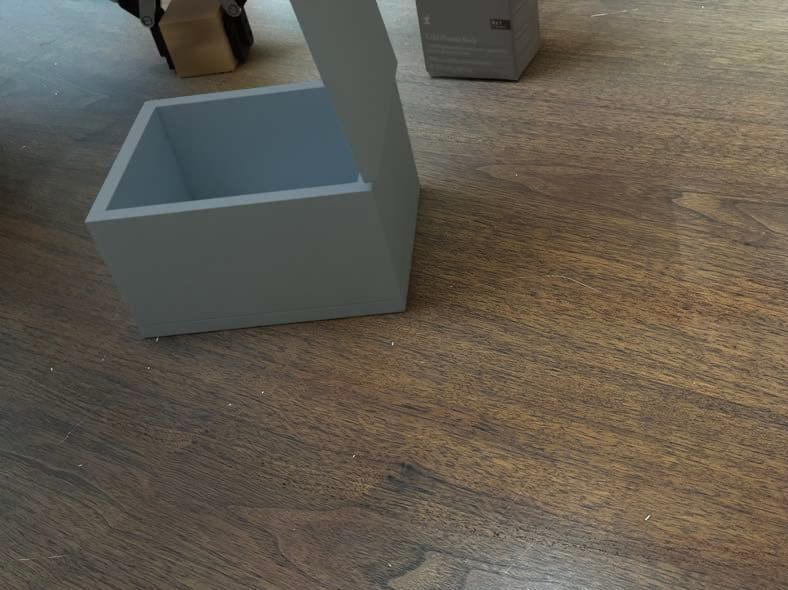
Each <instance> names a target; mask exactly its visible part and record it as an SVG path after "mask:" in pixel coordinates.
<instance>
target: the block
mask: <svg viewBox="0 0 788 590" xmlns="http://www.w3.org/2000/svg"><path fill="white" fill-rule="evenodd" d="M164 11H165V13H164V14H163V16H162V18H161V20H160V22H159V24H158V25H159V27H160V30H161V32H162V35H163V38H164V40H165V43H166V45H167V48H168V51H169V53H170V56H171V58H172V61H173V63H174V66H175V69H174V70H175V71H176V74H177V76H178V78H179V79H180V78H189V77H199V76H207V75H214V73H216V74H221V73H220V72H224V73H230V72H229V71H232V72H235V70H236V68H237V66H238V63H239V60H236V57H235V54H234V52H233V49H232V46H231V43H230V40H229V37H228V34H227V31H226V28H225V25H224V22H223V19H224V17H225V15H226V13H225V10H224V8H223V6H222V5H221V4H220V2H219V1H218V0H170V1H169V3H168V5H167V7H166V9H165V10H164ZM237 62H238V63H237ZM235 67H236V68H235ZM234 69H235V70H234ZM227 71H228V72H227Z"/></svg>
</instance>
